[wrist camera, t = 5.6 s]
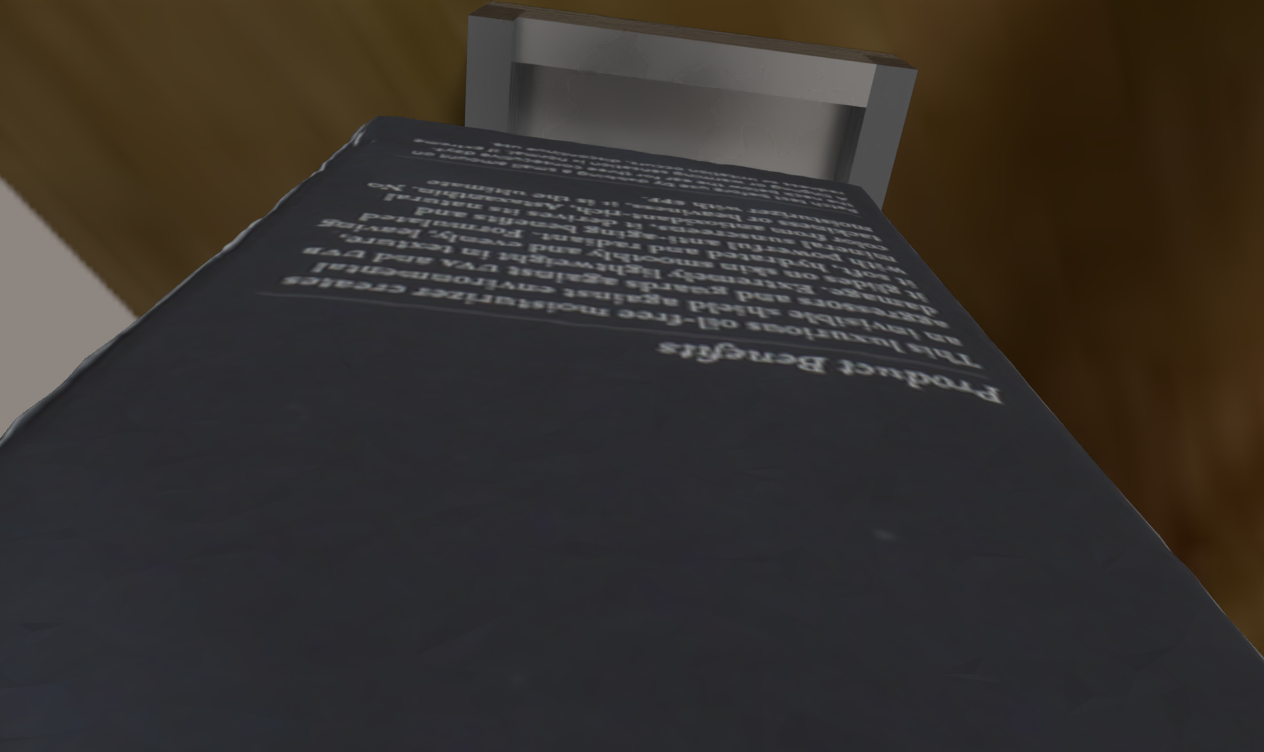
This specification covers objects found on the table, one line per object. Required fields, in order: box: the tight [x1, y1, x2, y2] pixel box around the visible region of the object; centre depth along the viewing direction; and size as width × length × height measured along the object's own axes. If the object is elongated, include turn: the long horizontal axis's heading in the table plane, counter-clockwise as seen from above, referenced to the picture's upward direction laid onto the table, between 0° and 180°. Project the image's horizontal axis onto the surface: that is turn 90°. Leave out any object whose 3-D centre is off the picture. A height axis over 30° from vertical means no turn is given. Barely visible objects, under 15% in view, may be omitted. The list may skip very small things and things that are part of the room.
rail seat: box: [465, 1, 918, 210], centre depth 25 cm, size 10×14×3 cm
